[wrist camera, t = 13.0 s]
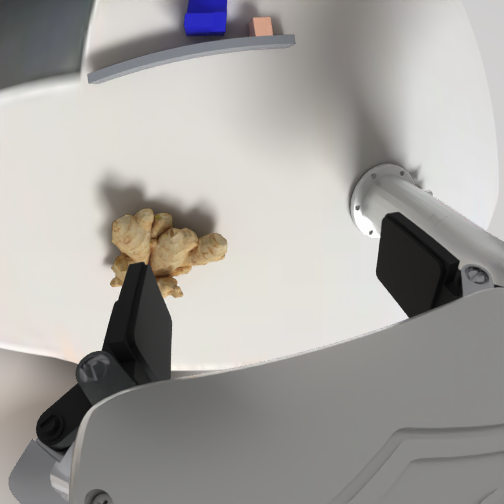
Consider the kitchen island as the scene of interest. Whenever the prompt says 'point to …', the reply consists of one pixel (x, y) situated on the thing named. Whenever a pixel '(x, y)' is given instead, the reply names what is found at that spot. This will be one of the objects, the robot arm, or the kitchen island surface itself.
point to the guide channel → (199, 51)
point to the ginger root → (161, 248)
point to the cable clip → (206, 18)
